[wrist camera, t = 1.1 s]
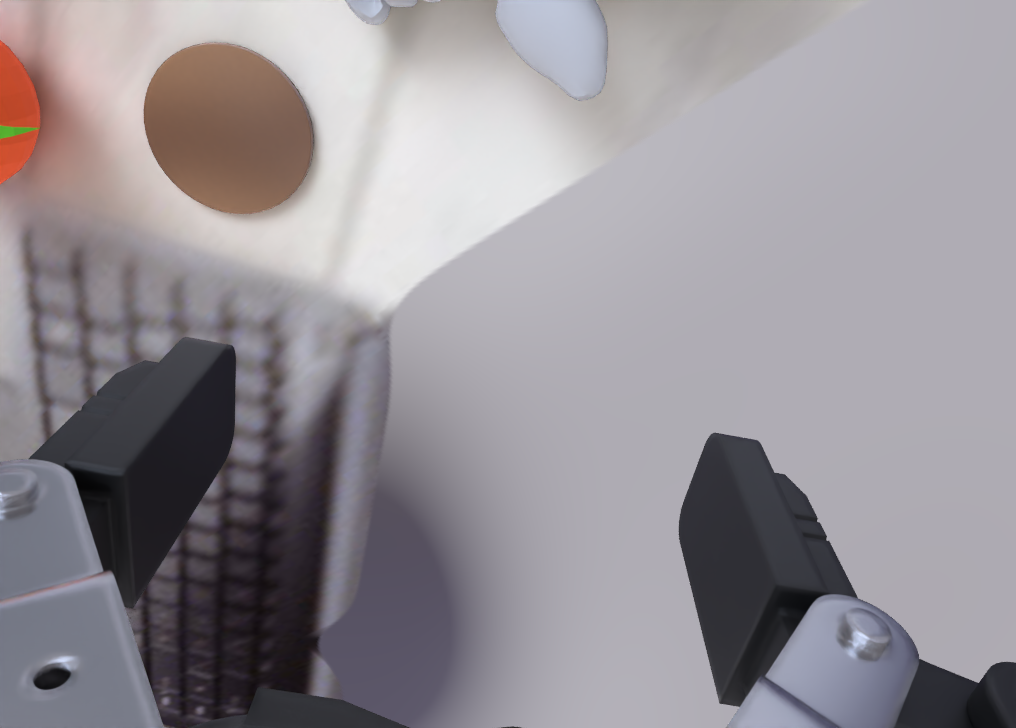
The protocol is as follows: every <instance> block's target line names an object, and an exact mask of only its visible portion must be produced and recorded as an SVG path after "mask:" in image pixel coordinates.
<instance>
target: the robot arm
mask: <svg viewBox="0 0 1016 728" xmlns="http://www.w3.org/2000/svg"><path fill="white" fill-rule="evenodd" d="M235 378H236V355H235V350H234V347H233V346H232V345H228V344H222V343H217V342H211V341H206V340H200V339H194V338H189V337H184V338H182V339H181V340H180V341H179V342H178V343H177V344H176V345H175V346H174V347H173V348H172V350H171V351H170V352H169V353H168V354H167V355H166V356H165V357H164V358H163V359H162V360H161V361H160V362H159V363H157V362H151V361H146V360H145V361H143V362H140V363H138V364H136V365H134V366H132V367H130V368H127V369H125V370H123V371H121V372H119V373H116V374H115V375H114V376H113V377H112V378H111V379H110V380H109V381H108V382H107V383H106V384H105V385H104V386H103V387H102V388H101V389H100V390H99V391H98V392H97V396H95V395H94V396H93V397H91V398H90V399H89V400H88V401H87V402H86V403H85V404H84V405H83V406H82V410H81V411H77V412H76V413H75V414H74V415H73V416H72V417H71V418H70V419H69V420H68V421H67V422H66V423H65V424H64V425H63V426H62V427H61V428H60V429H59V430H58V431H57V432H56V433H55V434H53V435H52V436H51V437H50V438H49V439H48V440H47V441H46V442H45V443H44V444H43V445H42V446H41V447H40V448H39V449H38V450H37V451H36V452H35V453H34V454H33V455H32V456H31V457H30V458H29V459H21V460H10V461H3V462H0V728H164V727H163V724H162V721H161V718H160V715H159V712H158V709H157V705H156V702H155V699H154V696H153V693H152V690H151V687H150V684H149V681H148V678H147V675H146V672H145V669H144V666H143V663H142V660H141V656H140V653H139V650H138V647H137V644H136V641H135V638H134V635H133V632H132V629H131V626H130V623H129V620H128V617H127V614H126V610H125V607H127V608H134V606H135V604H136V603H137V601H138V600H139V598H140V596H141V595H142V593H143V592H144V590H145V588H146V587H147V585H148V584H149V582H150V580H151V579H152V577H153V576H154V574H155V572H156V571H157V569H158V568H159V566H160V565H161V563H162V561H163V560H164V558H165V557H166V555H167V553H168V552H169V550H170V549H171V547H172V545H173V544H174V542H175V541H176V539H177V537H178V536H179V534H180V533H181V531H182V529H183V528H184V526H185V525H186V523H187V521H188V520H189V518H190V517H191V515H192V513H193V512H194V510H195V509H196V507H197V506H198V504H199V502H200V501H201V499H202V498H203V496H204V494H205V493H206V491H207V490H208V488H209V486H210V485H211V483H212V482H213V480H214V478H215V477H216V475H217V474H218V472H219V470H220V469H221V467H222V466H223V464H224V462H225V461H226V458H227V456H228V454H229V451H230V448H231V444H232V440H233V435H234V427H235ZM826 537H827V536H826V534H825V532H824V530H823V528H822V526H821V524H820V523H819V522H817V516H816V514H815V512H814V510H813V508H812V506H811V504H810V502H809V500H808V498H807V496H806V495H805V494H804V493H803V492H802V491H801V490H800V489H799V488H798V487H797V486H796V485H795V484H794V483H793V482H792V481H791V480H790V479H789V478H788V477H787V476H786V475H784V474H779V473H774V471H773V469H772V467H771V465H770V463H769V460H768V458H767V456H766V454H765V452H764V450H763V447H762V445H761V444H760V442H759V441H757V440H753V439H747V438H741V437H736V436H730V435H724V434H719V433H713V434H711V435H710V437H709V438H708V440H707V441H706V444H705V446H704V449H703V452H702V454H701V457H700V459H699V462H698V465H697V467H696V470H695V473H694V475H693V478H692V481H691V484H690V486H689V489H688V491H687V494H686V497H685V499H684V502H683V505H682V509H681V514H680V520H679V540H680V544H681V548H682V552H683V557H684V561H685V565H686V569H687V573H688V577H689V581H690V585H691V589H692V593H693V597H694V601H695V605H696V609H697V613H698V618H699V622H700V625H701V630H702V634H703V638H704V642H705V646H706V650H707V654H708V658H709V662H710V666H711V670H712V674H713V678H714V683H715V686H716V691H717V694H718V698H719V703H720V704H727V705H733V706H739V709H738V710H737V712H736V713H735V715H734V716H733V718H732V719H731V721H730V723H729V724H728V726H727V727H726V728H1016V663H1014V662H1001V663H996V664H995V665H993V666H991V667H990V669H989V670H988V671H987V673H986V674H985V675H984V677H983V678H982V679H981V681H980V682H979V683H977V682H974V681H972V680H969V679H967V678H964V677H962V676H959V675H956V674H954V673H952V672H949V671H947V670H945V669H942V668H939V667H937V666H935V665H932V664H930V663H927V662H925V661H923V660H921V659H919V654H918V651H917V648H916V646H915V644H914V642H913V640H912V639H911V638H910V636H909V635H908V633H907V632H906V631H905V630H904V629H903V627H902V626H901V625H900V624H899V623H897V622H896V621H895V620H894V619H893V618H892V617H890V616H889V615H888V614H886V613H885V612H883V611H882V610H880V609H879V608H877V607H875V606H873V605H872V604H870V603H867V602H865V601H863V600H860V599H858V598H857V595H856V593H855V591H854V590H853V588H852V585H851V583H850V582H849V580H848V577H847V576H846V574H845V572H844V570H843V568H842V566H841V564H840V562H839V560H838V558H837V556H836V554H835V552H834V550H833V548H832V546H831V544H830V542H829V541H826ZM189 728H409V727H406V726H404V725H401V724H399V723H397V722H394V721H391V720H389V719H387V718H385V717H382V716H380V715H377V714H375V713H372V712H370V711H367V710H365V709H362V708H360V707H358V706H355V705H353V704H350V703H348V702H346V701H343V700H338V699H332V698H325V697H319V696H312V695H306V694H299V693H293V692H286V691H280V690H273V689H267V688H260V687H258V689H257V691H256V694H255V696H254V699H253V702H252V704H251V707H250V709H249V712H248V715H240V716H231V717H226V718H221V719H216V720H211V721H208V722H205V723H201V724H198V725H195V726H192V727H189ZM503 728H520V727H503Z"/></svg>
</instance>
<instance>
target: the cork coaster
mask: <svg viewBox="0 0 1016 728" xmlns="http://www.w3.org/2000/svg"><path fill="white" fill-rule="evenodd" d="M144 124H145V130H146V135H147V138H148V142H149V145H150V147H151V150H152V152H153V154H154V156H155V158H156V160H157V162H158V164H159V165H160V167H161V168H162V169H163V171H164V172H165V174H166V175H167V176H168V177H169V178H170V180H171V181H172V182H173V183H174V184H175V185H176V186H177V187H178V188H180V189H181V190H182V191H183V192H184V193H186V194H187V195H188V196H190V197H191V198H193V199H194V200H196V201H198V202H199V203H201V204H203V205H206V206H208V207H210V208H213V209H216V210H219V211H223V212H228V213H235V214H252V213H257V212H262V211H265V210H268V209H271V208H273V207H275V206H277V205H279V204H281V203H282V202H284V201H285V200H286V199H288V198H289V197H290V196H291V195H292V194H293V193H294V192H295V191H296V190H297V189H298V187H299V186H300V185H301V183H302V182H303V180H304V178H305V176H306V175H307V172H308V170H309V167H310V164H311V160H312V155H313V144H314V142H313V130H312V124H311V120H310V116H309V113H308V110H307V108H306V105H305V103H304V101H303V99H302V97H301V95H300V94H299V92H298V90H297V89H296V87H295V86H294V85H293V83H292V82H291V81H290V79H289V78H288V77H287V76H286V75H285V74H284V73H283V72H282V71H281V70H280V69H279V68H278V67H277V66H275V65H274V64H273V63H272V62H271V61H269V60H267V59H266V58H264V57H263V56H261V55H260V54H258V53H256V52H254V51H252V50H249V49H247V48H244V47H241V46H238V45H233V44H229V43H218V42H214V43H203V44H198V45H194V46H191V47H188V48H185V49H183V50H181V51H179V52H177V53H175V54H174V55H172V56H171V57H170V58H168V59H167V60H166V61H165V62H164V63H163V64H162V65H161V66H160V67H159V69H158V70H157V71H156V73H155V74H154V76H153V78H152V79H151V82H150V84H149V87H148V89H147V93H146V97H145V104H144Z"/></svg>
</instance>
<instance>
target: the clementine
mask: <svg viewBox="0 0 1016 728" xmlns="http://www.w3.org/2000/svg"><path fill="white" fill-rule="evenodd" d="M39 129H40V106H39V102H38V98H37V95H36V91H35V87H34V85H33V83H32V81H31V79H30V77H29V76H28V74H27V72H26V70H25V68H24V66H23V65H22V63H21V62H20V61H19V60H18V59H17V57H16V56H15V55H14V54H13V52H12V51H11V50H10V49H9V47H8V46H6V45H5V44H4V43H3V42H2V41H1V40H0V184H1V183H3V182H4V181H6V180H7V179H8V178H10V177H11V176H13V175H14V174H15V173H17V172H18V171H19V170H21V169H22V167H23V166H24V164H25V163H26V161H27V160H28V159H29V157H30V156H31V154H32V152H33V149H34V146H35V144H36V140H37V137H38V133H39Z"/></svg>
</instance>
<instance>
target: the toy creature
mask: <svg viewBox="0 0 1016 728" xmlns="http://www.w3.org/2000/svg"><path fill="white" fill-rule="evenodd" d="M345 1H346V2H347V4H348V6H349V7H350V8H351V10H352V11H353V12H354V13H355V15H356V16H357V17H358V18H360V19H361V20H362V21H364V22H366V23H368V24H375V25H378V24H381V23H383V22H384V21H385V20H386V18H387V17H388V15H389V11H390V8H391V6H393V7H413V6H414V5H415V4H416V3H417V1H418V0H345ZM424 1H427V2H433V3H434V2H439V1H441V0H424ZM495 14H496V18H497V23H498V25H499V26H500V28H501V30H502V32H503V33H504V35H505V37H506V38H507V40H508V41H509V43H510V45H511V46H512V48H513V49H514V50H515V52H516V53H517V54H518V55H519V56H520V57H521V58H522V59H523V60H524V61H525V62H526V63H527V64H528V65H529V66H530V67H532V68H533V69H534V70H536V71H537V72H538V73H540V74H541V75H543V76H545V77H547V78H548V79H550V80H551V81H552V82H554V83H555V84H557V85H558V86H559V87H560V88H561V89H562V90H563V91H564V92H565V93H566V94H568V95H569V96H570V97H572V98H574V99H576V100H578V101H582V100H588V99H590V98H593V97H595V96H596V95H598V94H599V93H600V92H601V90H602V88H603V86H604V84H605V76H606V69H607V49H608V38H607V25H606V22H605V19H604V16H603V14H602V12H601V10H600V8H599V6H598V4H597V2H596V1H595V0H498V5H497V9H496V13H495Z"/></svg>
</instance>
